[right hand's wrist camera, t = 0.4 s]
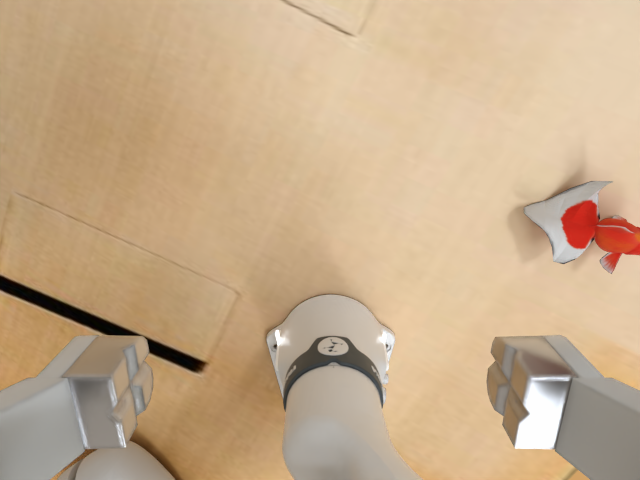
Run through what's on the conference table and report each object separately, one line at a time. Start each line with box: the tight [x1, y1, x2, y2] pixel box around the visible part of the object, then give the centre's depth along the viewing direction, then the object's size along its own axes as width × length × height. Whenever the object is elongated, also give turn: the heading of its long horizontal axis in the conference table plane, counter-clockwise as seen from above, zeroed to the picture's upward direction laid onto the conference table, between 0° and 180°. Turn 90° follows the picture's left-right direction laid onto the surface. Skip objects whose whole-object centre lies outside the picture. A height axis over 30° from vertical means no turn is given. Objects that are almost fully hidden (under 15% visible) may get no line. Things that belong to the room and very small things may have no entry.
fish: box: [524, 181, 640, 274], centre depth 55 cm, size 11×16×10 cm
